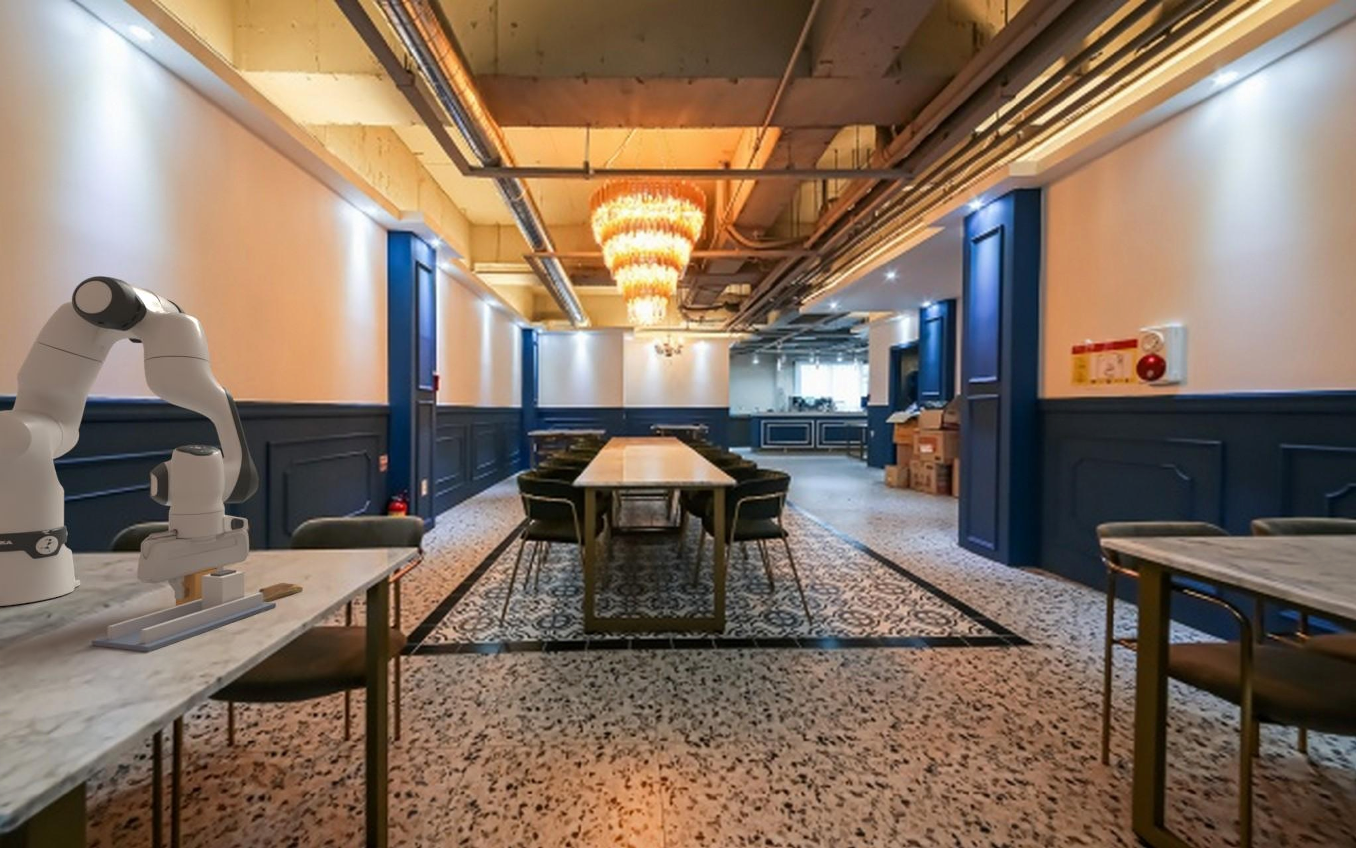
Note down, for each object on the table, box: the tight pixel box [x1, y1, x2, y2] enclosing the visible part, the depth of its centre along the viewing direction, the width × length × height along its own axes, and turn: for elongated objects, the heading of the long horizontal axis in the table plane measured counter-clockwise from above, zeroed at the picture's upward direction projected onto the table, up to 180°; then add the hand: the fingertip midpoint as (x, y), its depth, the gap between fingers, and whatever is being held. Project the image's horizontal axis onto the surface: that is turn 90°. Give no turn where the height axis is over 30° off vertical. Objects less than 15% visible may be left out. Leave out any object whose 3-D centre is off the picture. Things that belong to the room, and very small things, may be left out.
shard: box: [258, 582, 304, 603], centre depth 128 cm, size 11×8×2 cm
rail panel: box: [90, 569, 277, 653], centre depth 110 cm, size 12×24×8 cm, turn 168°
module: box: [175, 569, 217, 606], centre depth 121 cm, size 5×4×7 cm
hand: (196, 594), depth 121 cm, fingers closed on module, 4 cm apart
